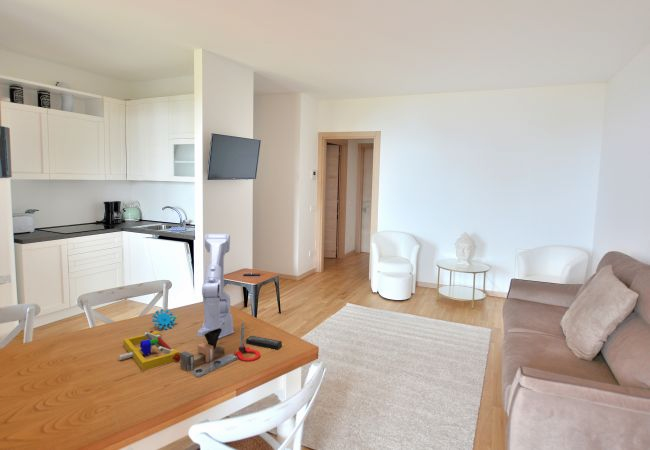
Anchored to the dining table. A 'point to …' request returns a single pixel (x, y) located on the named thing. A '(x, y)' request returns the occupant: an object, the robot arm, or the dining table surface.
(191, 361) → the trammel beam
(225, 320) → the robot arm
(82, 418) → the dining table surface
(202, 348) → the block
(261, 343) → the multiport hub
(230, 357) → the steel strip
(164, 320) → the gear
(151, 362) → the yellow frame mechanism
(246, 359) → the tow hook
